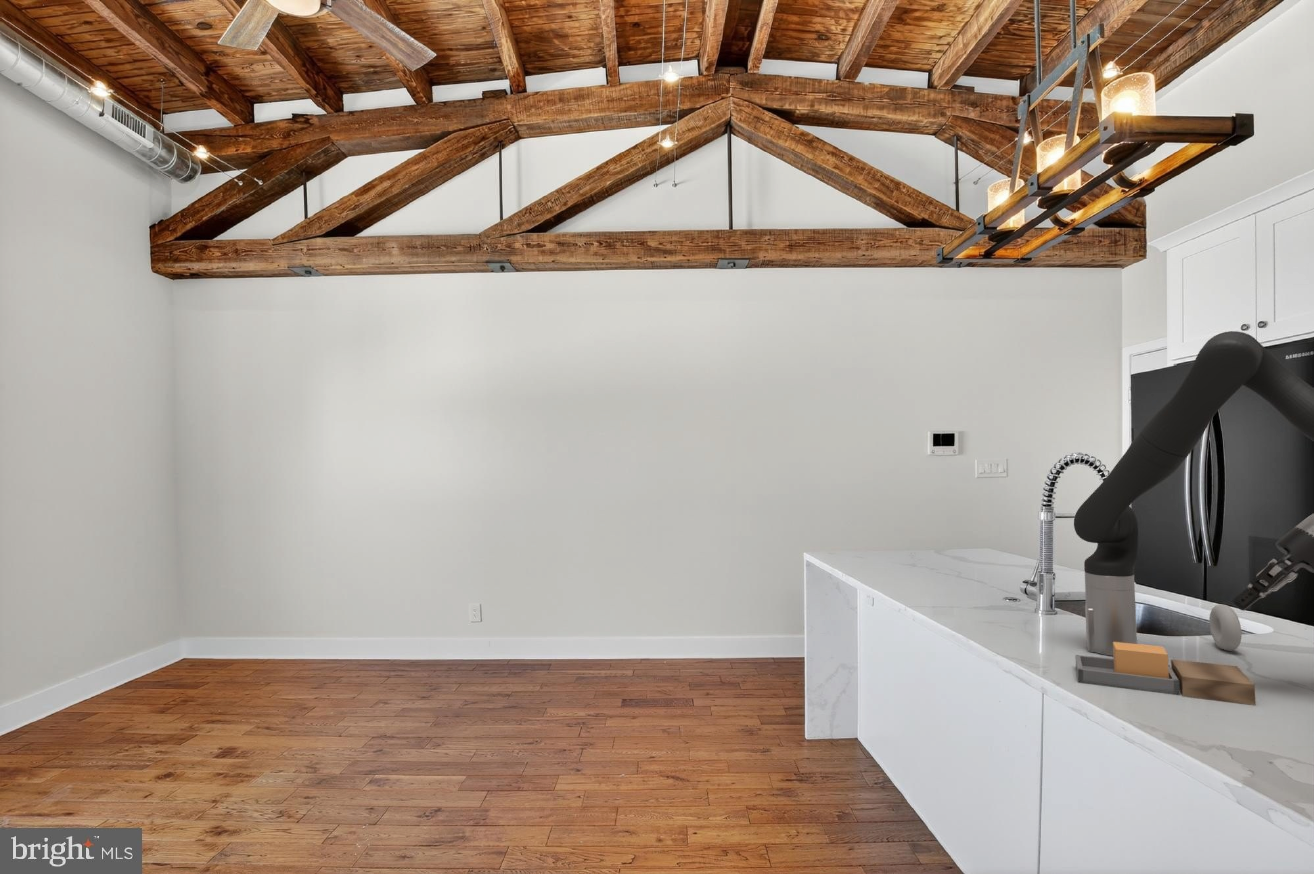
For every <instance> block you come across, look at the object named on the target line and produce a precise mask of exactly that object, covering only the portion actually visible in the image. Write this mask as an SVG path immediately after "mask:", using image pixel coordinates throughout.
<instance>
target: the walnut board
mask: <svg viewBox="0 0 1314 874" xmlns="http://www.w3.org/2000/svg"><path fill="white" fill-rule="evenodd" d="M1170 667H1171V669H1172V670H1173V672H1174V673H1175V675H1176V677H1177V678H1178V680H1179V687H1180V695H1182V697H1185V696H1186V698H1193V699H1201V700H1202V699H1203V700H1210V701H1217V702H1218V701H1219V702H1228V703H1235V704H1243V705H1248V706H1249V705H1251V706H1256V686H1255V685H1256V684H1254V683H1253V682H1252V680H1250V678H1249V677H1248V676H1247V675H1246V674H1245V673H1244V672H1243V670H1241V669H1240V667H1238V665H1231V664H1223V663H1220V664H1219V663H1211V662H1210V663H1209V662H1200V661H1192V660H1182V659H1181V660H1180V659H1173V658H1172V659H1170Z"/></svg>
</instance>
